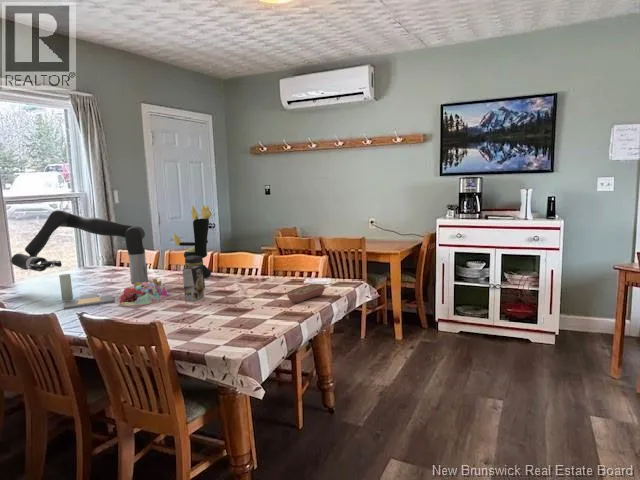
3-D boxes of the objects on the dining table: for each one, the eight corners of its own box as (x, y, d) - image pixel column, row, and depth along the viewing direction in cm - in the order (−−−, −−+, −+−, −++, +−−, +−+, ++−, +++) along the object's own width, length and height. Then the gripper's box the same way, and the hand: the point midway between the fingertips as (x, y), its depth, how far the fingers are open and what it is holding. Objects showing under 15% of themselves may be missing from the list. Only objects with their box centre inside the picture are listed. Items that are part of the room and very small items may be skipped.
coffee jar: (207, 288, 246) (205, 255, 243) (196, 291, 239) (193, 257, 237) (196, 286, 251) (193, 253, 249) (184, 289, 245) (181, 256, 243)
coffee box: (196, 301, 220) (193, 268, 218) (184, 301, 222) (181, 268, 220) (204, 296, 229) (202, 265, 227) (193, 296, 231) (190, 265, 228)
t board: (111, 292, 245) (111, 290, 245) (114, 302, 225) (113, 299, 225) (65, 299, 235) (65, 296, 235) (63, 309, 215) (63, 307, 215)
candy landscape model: (118, 297, 236) (117, 280, 235) (166, 291, 245) (164, 274, 244) (118, 309, 213) (116, 290, 212) (170, 302, 222) (169, 283, 221)
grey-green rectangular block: (73, 297, 238) (70, 273, 236) (73, 299, 233) (70, 275, 231) (62, 299, 235) (59, 274, 234) (61, 301, 231) (58, 276, 229)
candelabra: (200, 272, 291) (195, 202, 285) (224, 275, 278) (219, 202, 272) (175, 278, 276) (169, 204, 270) (199, 282, 263) (193, 204, 257)
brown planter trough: (298, 306, 205) (297, 295, 204) (282, 303, 211) (281, 293, 210) (328, 295, 223) (328, 285, 222) (313, 292, 229) (312, 283, 228)
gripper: (21, 259, 240) (37, 261, 232) (49, 255, 252) (65, 257, 243) (23, 273, 241) (38, 275, 233) (51, 268, 253) (66, 270, 244)
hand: (52, 266), depth 238 cm, fingers open, 8 cm apart
